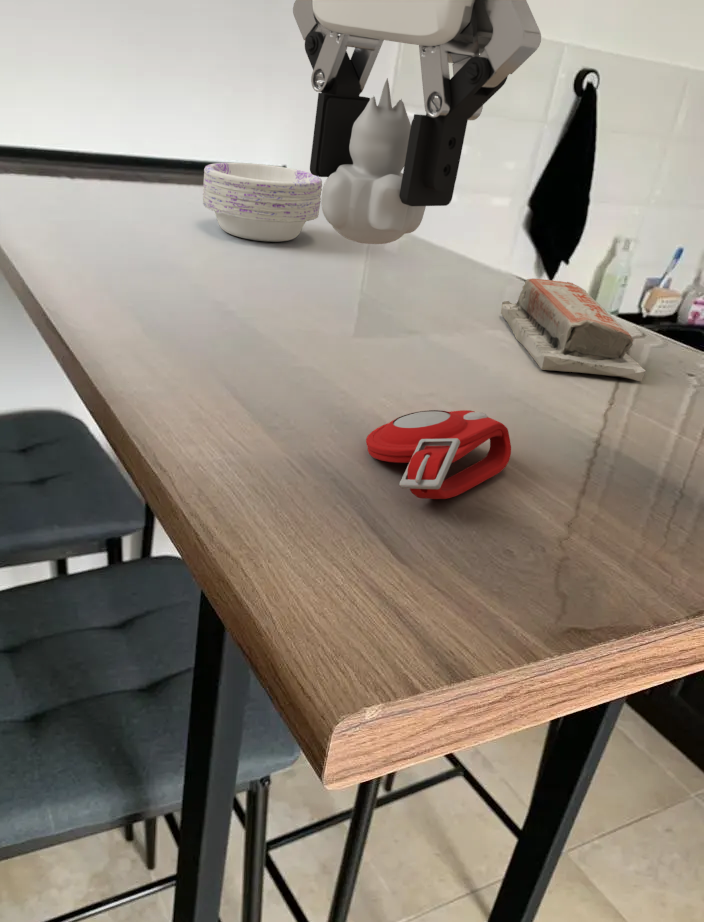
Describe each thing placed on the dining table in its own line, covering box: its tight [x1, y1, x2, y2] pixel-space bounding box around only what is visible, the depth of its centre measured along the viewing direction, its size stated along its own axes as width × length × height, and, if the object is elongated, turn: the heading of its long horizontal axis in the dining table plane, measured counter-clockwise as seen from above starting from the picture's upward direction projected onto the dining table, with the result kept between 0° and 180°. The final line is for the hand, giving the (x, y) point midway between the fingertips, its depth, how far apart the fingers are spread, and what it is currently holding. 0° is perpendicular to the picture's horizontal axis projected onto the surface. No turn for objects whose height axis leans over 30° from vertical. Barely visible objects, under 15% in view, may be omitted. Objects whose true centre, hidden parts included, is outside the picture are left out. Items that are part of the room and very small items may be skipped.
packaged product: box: [500, 278, 647, 382], centre depth 86 cm, size 18×5×10 cm
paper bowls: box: [202, 162, 323, 243], centre depth 112 cm, size 15×15×8 cm
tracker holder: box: [365, 409, 512, 500], centre depth 57 cm, size 12×4×10 cm
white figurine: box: [321, 77, 427, 245], centre depth 44 cm, size 5×7×8 cm
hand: (378, 186), depth 45 cm, fingers closed on white figurine, 6 cm apart
